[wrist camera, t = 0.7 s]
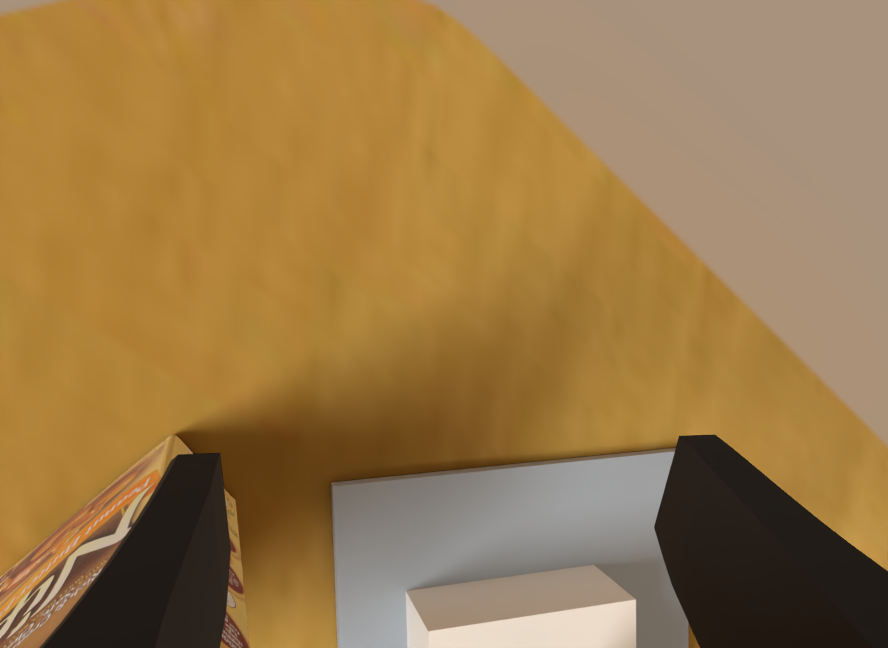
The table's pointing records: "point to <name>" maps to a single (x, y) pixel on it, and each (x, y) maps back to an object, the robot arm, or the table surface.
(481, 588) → the box
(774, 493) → the robot arm
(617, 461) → the board
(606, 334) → the table surface
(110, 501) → the candy box
